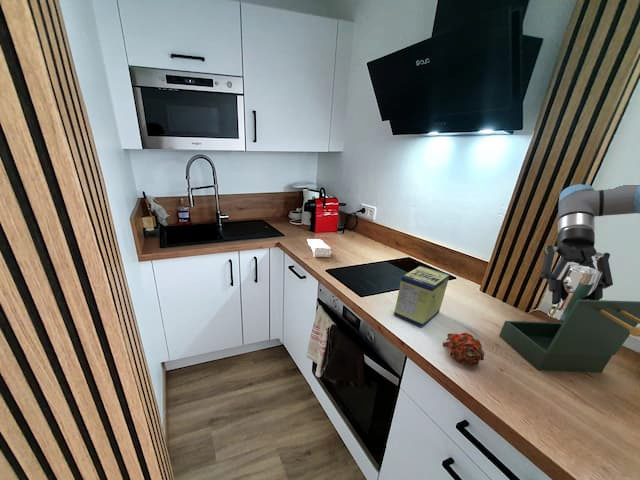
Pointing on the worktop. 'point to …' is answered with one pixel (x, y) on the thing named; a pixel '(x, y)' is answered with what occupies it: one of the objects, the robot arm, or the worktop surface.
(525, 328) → the dark green box base
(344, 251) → the worktop surface
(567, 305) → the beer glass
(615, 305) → the box lid with handle
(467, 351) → the dragon fruit
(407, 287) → the protein box
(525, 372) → the worktop surface
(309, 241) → the white rectangular block
